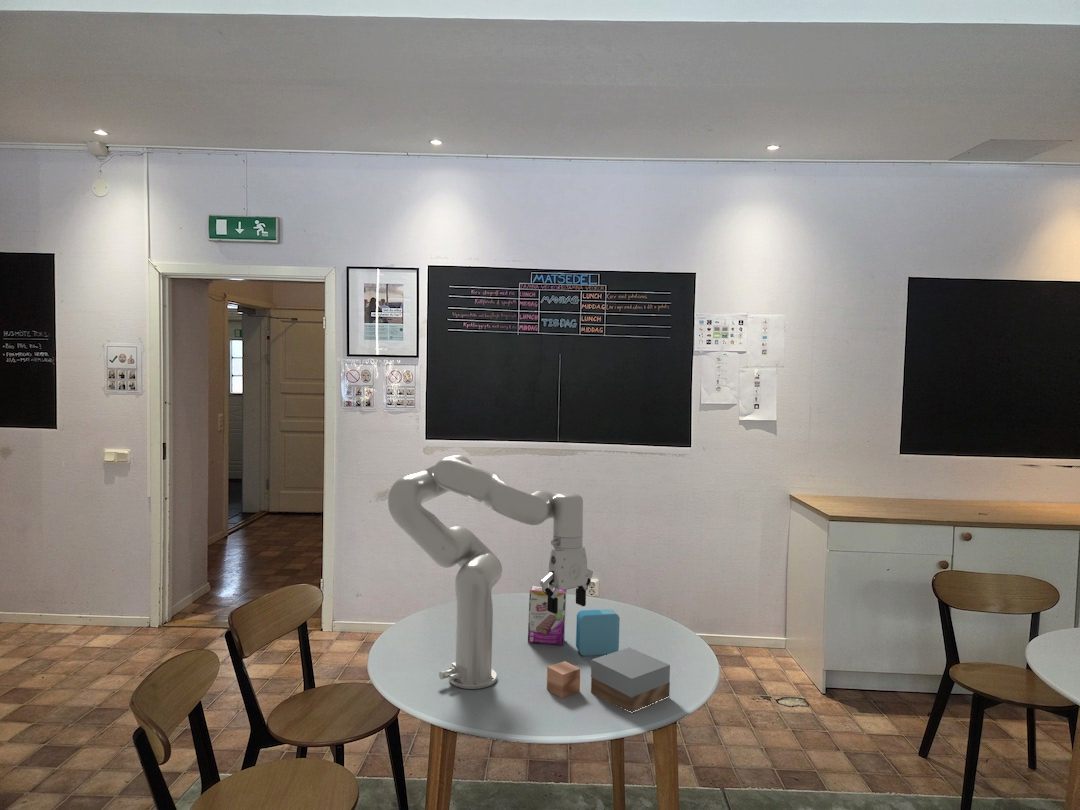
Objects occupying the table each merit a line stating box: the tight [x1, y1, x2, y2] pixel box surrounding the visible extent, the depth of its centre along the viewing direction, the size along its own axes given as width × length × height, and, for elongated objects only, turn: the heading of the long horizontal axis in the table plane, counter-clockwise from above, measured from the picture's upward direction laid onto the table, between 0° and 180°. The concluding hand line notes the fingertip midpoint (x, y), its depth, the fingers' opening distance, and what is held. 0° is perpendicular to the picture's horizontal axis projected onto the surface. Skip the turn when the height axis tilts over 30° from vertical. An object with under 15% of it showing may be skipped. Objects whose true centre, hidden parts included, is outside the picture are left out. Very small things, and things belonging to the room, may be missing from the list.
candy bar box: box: [527, 585, 567, 646], centre depth 203 cm, size 11×5×16 cm, turn 84°
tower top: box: [590, 647, 671, 697], centre depth 168 cm, size 14×14×4 cm
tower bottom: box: [590, 676, 671, 712], centre depth 168 cm, size 14×14×4 cm
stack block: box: [546, 660, 581, 699], centre depth 170 cm, size 6×6×6 cm
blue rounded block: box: [575, 608, 621, 657], centre depth 196 cm, size 12×4×12 cm, turn 102°
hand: (566, 608), depth 170 cm, fingers open, 9 cm apart
